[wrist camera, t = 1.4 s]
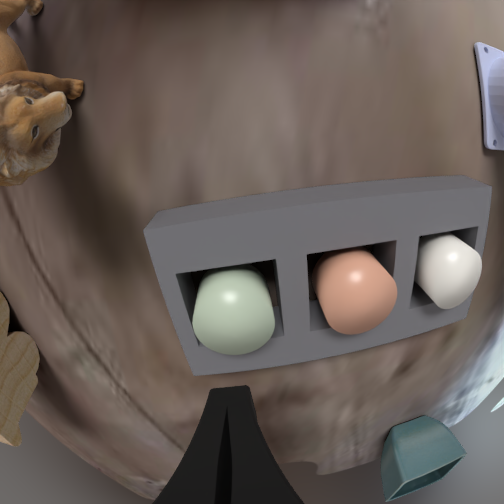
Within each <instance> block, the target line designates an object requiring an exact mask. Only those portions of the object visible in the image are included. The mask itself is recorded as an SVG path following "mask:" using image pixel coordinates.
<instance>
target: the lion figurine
mask: <svg viewBox="0 0 504 504" xmlns="http://www.w3.org/2000/svg"><path fill="white" fill-rule="evenodd" d="M42 7H43V2H42V1H40V0H0V186H12V185H21V184H22V183H23V182H24V181H25V180H27V178H28V177H29V176H32V175H34V174H36V173H38V172H41V171H43V170H45V169H46V168H48V167H49V166H50V165H51V164H52V163H53V162H54V160H55V158H56V156H57V153H58V151H57V150H58V147H59V144H60V135H61V127H62V126H63V125H64V124H65V123H67V121H68V120H69V119H70V118H71V116H72V111H71V108H70V105H69V104H67V100H66V97H67V98H69V99H76V98H77V97H80V95H81V93H82V91H83V84H84V82H83V81H81V80H76V79H70V78H66V79H60V78H57V77H55V76H53V75H51V74H44V73H37V72H30V71H29V70H28V67H27V64H26V61H25V58H24V56H23V54H22V53H21V51H20V49H19V47H18V46H17V44H16V43H15V42H14V40H13V39H12V38H11V37H10V36H9V35H8V34H7V28H8V27H9V26H10V25H11V24H12V23H13V22H14V21H15V20H16V19H17V18H19V17H20V16H21V15H22V14H23V12H24V10H25V8H26V9H27V12H28V14H29V15H31V16H34V15H37V14H38V13H39V11H41V9H42Z"/></svg>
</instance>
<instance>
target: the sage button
mask: <svg viewBox="0 0 504 504" xmlns="http://www.w3.org/2000/svg"><path fill="white" fill-rule="evenodd" d="M192 324H193V330H194V333H195V335H196V337H197V338H198V339H199V341H200V342H201V343H202V344H203V345H205V346H206V347H207V348H209V349H211V350H213V351H215V352H218V353H222V354H227V355H241V354H246V353H250V352H252V351H255V350H257V349H259V348H260V347H262V346H263V345H264V344H265V343H266V342H267V341H268V340H269V339H270V338H271V336H272V334H273V331H274V328H275V319H274V313H273V308H272V303H271V298H270V292H269V287H268V283H267V280H266V279H265V277H264V275H263V274H262V273H261V272H260V271H259V270H258V269H257V268H255V267H253V266H252V265H249V264H247V263H246V264H239V265H232V266H226V267H219V268H212V269H209V270H208V271H207V272H206V273H205V274H204V275H203V277H202V278H201V281H200V283H199V288H198V293H197V298H196V304H195V309H194V315H193V322H192Z"/></svg>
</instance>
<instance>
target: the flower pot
mask: <svg viewBox="0 0 504 504" xmlns="http://www.w3.org/2000/svg"><path fill="white" fill-rule="evenodd" d="M466 454H467V453H466V451H465V450H464V448H463V447H462V446H461V444H460V443H459V442H458V440H457V439H456V437H455V436H454V435H453V433H452V432H451V431H450V430H449V429H448V428H447V427H446V426H445V425H444V424H443V423H441V422H440V421H438V420H436V419H434V418H431V417H428V416H426V415H425V416H421V417H419V418H416V419H414V420H411V421H408V422H405V423H402V424H399V425H396V426H394V427H393V428H392V429H391V431H390V433H389V435H388V437H387V439H386V441H385V443H384V447H383V452H382V457H381V477H382V484H383V490H384V496H385V501H390V500H393V499H396V498H398V497H401V496H404V495H406V494H409V493H411V492H414V491H416V490H419V489H421V488H424V487H426V486H428V485H431V484H433V483H435V482H437V481H439V480H441V479H442V478H444V477H445V476H446V475H447V474H448V473H449V472H450V471H451V470H452V469H453V468H454V467H455V466H456V465H457V464H458V463H459V462H460V461H461V460H462V459H463V458H464V457H465V455H466Z"/></svg>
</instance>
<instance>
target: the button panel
mask: <svg viewBox="0 0 504 504" xmlns="http://www.w3.org/2000/svg"><path fill="white" fill-rule="evenodd" d="M491 194H492V186H489V185H487V184H485V183H482V182H480V181H477V180H475V179H472V178H470V177H467V176H464V175H456V176H434V177H417V178H402V179H389V180H377V181H366V182H355V183H345V184H336V185H327V186H318V187H309V188H301V189H293V190H286V191H278V192H271V193H264V194H257V195H250V196H244V197H237V198H231V199H225V200H218V201H212V202H207V203H201V204H195V205H189V206H184V207H178V208H173V209H168V210H163V211H158V212H157V213H156V214H155V216H154V217H153V218H152V220H151V221H150V222H149V223H148V225H147V226H146V227H145V229H144V230H143V232H144V236H145V239H146V243H147V246H148V249H149V253H150V256H151V259H152V263H153V266H154V269H155V272H156V275H157V278H158V281H159V284H160V287H161V290H162V293H163V296H164V299H165V302H166V305H167V308H168V311H169V313H170V316H171V319H172V322H173V324H174V327H175V330H176V333H177V335H178V338H179V340H180V343H181V346H182V348H183V351H184V353H185V356H186V358H187V361H188V363H189V365H190V368H191V370H192V373H193V375H194V376H198V375H210V374H221V373H230V372H239V371H247V370H255V369H263V368H270V367H276V366H283V365H289V364H295V363H300V362H306V361H311V360H317V359H322V358H327V357H332V356H336V355H341V354H345V353H350V352H354V351H358V350H363V349H367V348H371V347H375V346H378V345H382V344H386V343H390V342H393V341H397V340H400V339H404V338H407V337H411V336H414V335H417V334H421V333H424V332H427V331H430V330H433V329H436V328H439V327H442V326H445V325H448V324H451V323H454V322H456V321H459V320H462V319H465V318H466V316H467V313H468V310H469V307H470V303H471V300H472V296H473V293H474V290H473V292H472V293H471V294H470V296H469V297H468V298H467V299H466V300H465V301H463V302H462V303H461V304H459V305H458V306H456V307H454V308H450V309H442V308H440V307H438V306H437V305H436V304H435V302H434V301H433V300H432V299H431V298H430V297H429V296H428V295H427V294H426V292H425V291H424V290H423V289H422V288H421V287H420V286H419V285H418V284H417V283H416V282H415V280H414V275H415V268H416V260H417V252H418V243H419V236H423V235H429V234H435V233H441V232H447V231H450V233H451V234H453V235H454V236H456V237H457V238H458V239H460V240H461V241H463V242H464V243H466V244H467V245H468V246H470V247H471V248H473V249H474V250H475V251H476V252H478V254H479V255H480V257H481V260H482V255H483V250H484V245H485V239H486V233H487V227H488V220H489V212H490V204H491ZM368 244H373V256H374V257H375V258H376V259H377V261H378V262H379V263H380V264H381V265H382V266H383V267H384V269H385V270H386V271H387V272H388V273H389V274H390V275H391V277H392V278H393V279H394V281H395V283H396V286H397V299H396V302H395V305H394V307H393V309H392V311H391V313H390V314H389V315H388V316H387V318H386V319H385V320H384V321H383V322H381V323H380V324H379V325H378V326H376V327H375V328H373V329H371V330H369V331H366V332H364V333H360V334H352V335H350V334H343V333H339V332H337V331H335V330H334V329H333V328H332V327H331V326H330V325H329V324H328V322H327V319H326V317H325V315H324V312H323V310H322V308H321V305H320V303H319V300H312V301H309V288H308V270H307V254H311V253H318V252H324V251H331V250H337V249H343V248H349V247H356V246H362V245H368ZM266 260H273V268H274V276H275V284H276V293H277V302H278V306H276V307H272V308H273V313H274V319H275V328H274V331H273V334H272V336H271V338H270V339H269V340H268V341H267V342H266V343H265V344H264V345H263V346H262V347H260V348H259V349H257V350H255V351H252V352H250V353H246V354H241V355H227V354H222V353H218V352H215V351H213V350H211V349H209V348H207V347H206V346H205V345H203V344H202V343H201V342H200V341H199V339H198V338H197V337H196V335H195V333H194V330H193V324H192V322H193V315H194V309H195V304H196V298H197V294H196V291H195V287H194V283H193V280H192V276H191V271H198V270H205V269H212V268H219V267H226V266H232V265H239V264H246V263H252V262H259V261H266Z"/></svg>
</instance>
